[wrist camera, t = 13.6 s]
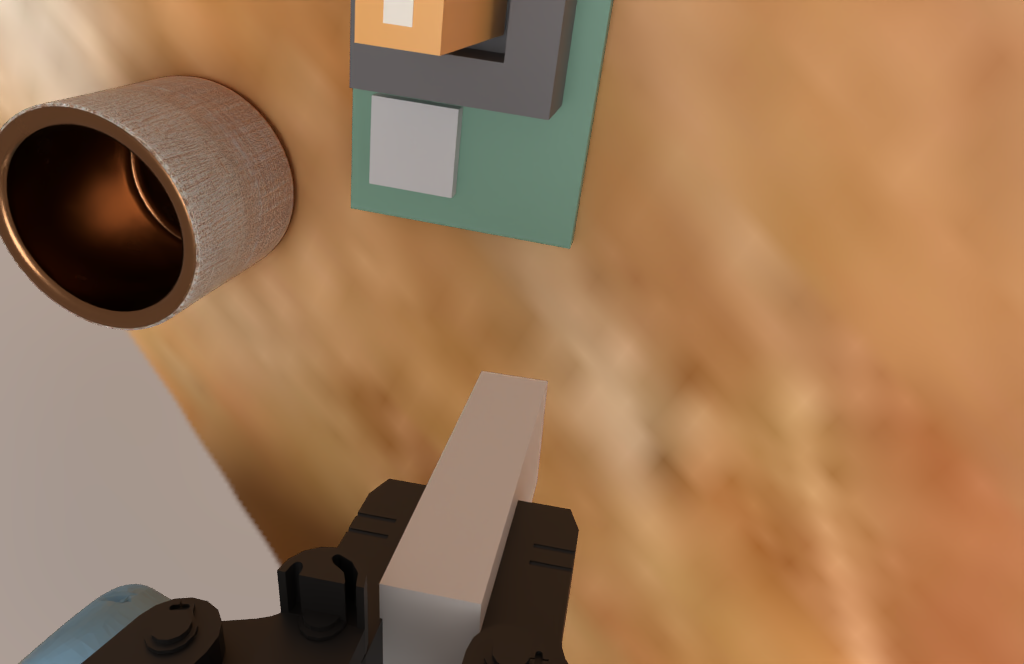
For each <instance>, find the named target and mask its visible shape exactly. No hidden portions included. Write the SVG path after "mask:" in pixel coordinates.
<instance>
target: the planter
mask: <svg viewBox="0 0 1024 664" xmlns="http://www.w3.org/2000/svg"><path fill="white" fill-rule="evenodd" d="M293 204H294V186H293V178H292V173H291V169H290V165H289V162H288V159H287V156H286V153H285V151H284V149H283V147H282V145H281V142H280V141H279V139H278V137H277V135H276V134H275V132H274V131H273V129H272V128H271V126H270V125H269V123H268V122H267V121H266V120H265V118H264V117H263V116H262V115H261V114H260V113H259V112H258V111H257V110H256V109H255V108H254V107H253V106H252V105H251V104H250V103H249V102H248V101H246V100H245V99H244V98H243V97H241V96H240V95H238V94H237V93H235V92H234V91H232V90H230V89H229V88H227V87H225V86H223V85H221V84H218V83H216V82H213V81H210V80H207V79H203V78H198V77H192V76H168V77H162V78H157V79H152V80H148V81H143V82H139V83H135V84H130V85H126V86H122V87H117V88H113V89H109V90H104V91H100V92H95V93H91V94H86V95H81V96H77V97H72V98H67V99H62V100H57V101H53V102H48V103H43V104H39V105H35V106H32V107H30V108H27V109H25V110H23V111H21V112H19V113H17V114H16V115H14V116H13V117H12V118H11V119H9V120H8V121H7V122H6V123H5V124H4V125H3V127H2V128H1V129H0V237H1V239H2V241H3V243H4V245H5V246H6V248H7V250H8V251H9V253H10V255H11V256H12V258H13V259H14V261H15V262H16V264H17V265H18V266H19V268H20V269H21V270H22V271H23V273H24V274H25V275H26V276H27V277H28V278H29V280H30V281H31V282H32V283H33V284H34V285H35V286H36V287H37V288H38V289H40V291H41V292H43V293H44V294H45V295H46V296H47V297H48V298H50V299H51V300H52V301H54V302H55V303H56V304H58V305H59V306H61V307H62V308H64V309H65V310H67V311H68V312H70V313H72V314H74V315H76V316H77V317H80V318H82V319H84V320H86V321H88V322H91V323H94V324H97V325H100V326H104V327H108V328H112V329H120V330H139V329H145V328H150V327H153V326H156V325H159V324H161V323H163V322H165V321H167V320H169V319H170V318H172V317H173V316H175V315H176V314H178V313H179V312H181V311H182V310H184V309H185V308H187V307H188V306H190V305H191V304H193V303H194V302H196V301H198V300H199V299H201V298H202V297H204V296H205V295H207V294H208V293H210V292H211V291H213V290H214V289H216V288H218V287H219V286H221V285H222V284H224V283H225V282H227V281H229V280H230V279H232V278H233V277H235V276H237V275H238V274H240V273H241V272H243V271H244V270H246V269H247V268H249V267H251V266H252V265H254V264H255V263H257V262H258V261H260V260H261V259H262V258H264V257H265V256H266V255H268V254H269V253H270V252H271V251H272V250H273V249H274V247H275V246H276V245H277V244H278V243H279V241H280V240H281V239H282V237H283V236H284V234H285V232H286V230H287V228H288V225H289V223H290V219H291V216H292V211H293Z"/></svg>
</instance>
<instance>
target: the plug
mask: <svg viewBox="0 0 1024 664" xmlns="http://www.w3.org/2000/svg"><path fill="white" fill-rule="evenodd" d="M506 9H507V0H355V41H354V43H360V44H367V45H373V46H380V47H386V48H392V49H399V50H405V51H412V52H418V53H425V54H431V55H438V56H441V55H444V54H447V53H450V52H453V51H456V50H459V49H462V48H465V47H468V46H471V45H474V44H477V43H480V42H483V41H486V40H489V39H492V38H495V37H498V36H501V35H504V28H505V18H506Z"/></svg>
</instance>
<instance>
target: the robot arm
mask: <svg viewBox="0 0 1024 664" xmlns="http://www.w3.org/2000/svg"><path fill="white" fill-rule="evenodd" d="M547 384H548V381H544V380H537V379H531V378H524V377H518V376H511V375H505V374H499V373H492V372H486V371H482V372H481V374H480V376H479V378H478V380H477V382H476V384H475V386H474V388H473V390H472V392H471V394H470V397H469V399H468V401H467V403H466V405H465V407H464V409H463V411H462V413H461V415H460V417H459V419H458V421H457V424H456V426H455V428H454V430H453V432H452V434H451V436H450V438H449V440H448V442H447V444H446V446H445V448H444V450H443V453H442V455H441V457H440V459H439V461H438V463H437V465H436V467H435V469H434V471H433V473H432V475H431V477H430V480H429V482H428V484H427V485H421V484H416V483H410V482H404V481H399V480H393V479H388V480H387V481H386V482H384V483H383V484H381V485H380V486H379V487H377V488H376V489H375V490H373V491H372V492H371V493H369V495H368V496H367V498H366V500H365V502H364V503H363V505H362V507H361V508H360V510H359V512H358V516H356V517H355V519H354V520H353V522H352V524H351V525H350V527H349V531H348V532H346V534H345V536H344V537H343V539H342V541H341V542H340V544H339V546H338V547H337V548H333V547H319V548H314V549H310V550H305V551H303V552H301V553H299V554H297V555H295V556H293V557H291V558H289V559H288V560H287V561H286V562H285V563H284V564H283V565H282V566H281V567H280V568H279V569H278V570H277V573H278V584H279V595H280V606H281V613H279V614H277V615H274V616H270V617H265V618H259V619H247V620H232V621H221V618H220V615H219V612H218V609H216V608H215V607H214V606H213V605H211V604H210V603H209V602H207V601H204V600H200V599H196V598H181V599H180V598H179V599H173V600H171V599H169V598H167V597H166V596H164V595H163V594H161V593H159V592H158V591H156V590H154V589H152V588H150V587H148V586H145V585H139V584H131V585H124V586H120V587H118V588H115V589H113V590H111V591H109V592H107V593H105V594H104V595H102V596H100V597H99V598H97V599H96V600H95V601H93V602H92V603H91V604H89V605H88V606H86V607H85V608H84V609H82V610H81V611H80V612H79V613H77V614H76V615H75V616H74V617H72V618H71V619H70V620H69V621H67V622H66V623H65V624H64V625H62V626H61V627H60V628H59V629H58V630H57V631H56V632H54V633H53V634H52V635H51V636H49V637H48V638H47V639H46V640H45V641H44V642H42V644H40V645H39V646H38V647H37V648H35V649H34V650H33V651H32V652H31V653H30V654H29V655H28V656H26V657H25V658H24V659H23V660H22V661H21V662H20V663H19V664H568V663H567V661H566V659H565V657H564V653H563V650H562V639H563V632H564V626H565V620H566V613H567V607H568V600H569V594H570V587H571V580H572V573H573V566H574V559H575V552H576V545H577V538H578V531H579V530H578V527H577V525H576V522H575V520H574V517H573V515H572V512H571V510H570V509H565V508H559V507H554V506H548V505H542V504H537V503H532V499H533V495H534V491H535V488H536V484H537V478H538V469H539V460H540V450H541V441H542V431H543V422H544V412H545V403H546V394H547Z"/></svg>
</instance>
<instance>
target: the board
mask: <svg viewBox="0 0 1024 664" xmlns="http://www.w3.org/2000/svg"><path fill="white" fill-rule="evenodd" d="M612 6H613V0H507V9H506V18H505V28H504V35H501V36H498V37H495V38H492V39H489V40H486V41H483V42H480V43H477V44H474V45H471V46H468V47H465V48H462V49H459V50H456V51H453V52H450V53H447V54H444V55H441V56H438V55H431V54H425V53H418V52H412V51H405V50H399V49H392V48H386V47H380V46H373V45H367V44H360V43H354V41H355V0H351V28H350V88H353V116H352V175H351V208H353V209H359V210H364V211H369V212H375V213H380V214H385V215H391V216H396V217H402V218H407V219H412V220H418V221H423V222H429V223H434V224H439V225H445V226H450V227H456V228H461V229H466V230H472V231H477V232H482V233H488V234H493V235H499V236H504V237H509V238H515V239H520V240H526V241H531V242H536V243H542V244H547V245H553V246H558V247H563V248H569V249H570V247H571V245H572V242H573V238H574V232H575V226H576V220H577V214H578V208H579V202H580V196H581V190H582V184H583V178H584V172H585V167H586V161H587V155H588V149H589V143H590V137H591V131H592V125H593V119H594V113H595V107H596V101H597V95H598V89H599V83H600V77H601V71H602V65H603V59H604V53H605V47H606V41H607V35H608V30H609V24H610V18H611V12H612Z"/></svg>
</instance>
